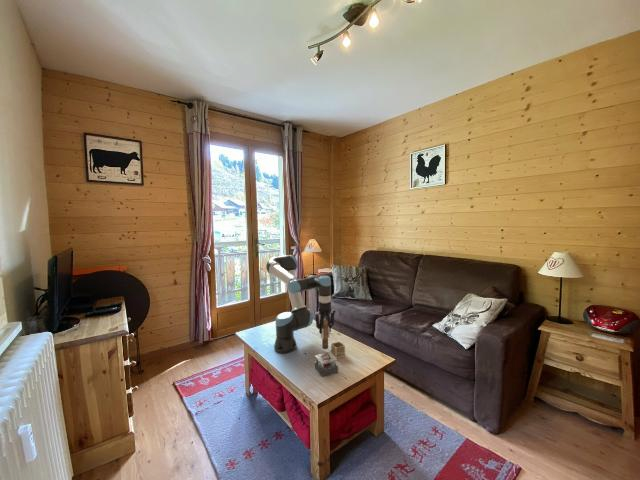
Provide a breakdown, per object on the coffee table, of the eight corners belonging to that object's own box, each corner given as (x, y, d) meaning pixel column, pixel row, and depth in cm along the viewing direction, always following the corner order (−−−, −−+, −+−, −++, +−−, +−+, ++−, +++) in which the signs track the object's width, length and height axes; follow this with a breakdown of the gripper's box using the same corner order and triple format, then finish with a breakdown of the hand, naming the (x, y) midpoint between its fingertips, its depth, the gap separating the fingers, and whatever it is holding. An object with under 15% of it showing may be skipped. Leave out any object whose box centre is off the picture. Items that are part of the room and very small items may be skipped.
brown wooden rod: (321, 346, 171) (321, 319, 168) (326, 345, 172) (326, 318, 170) (323, 349, 167) (323, 321, 165) (329, 348, 169) (328, 320, 166)
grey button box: (315, 367, 160) (314, 355, 160) (330, 363, 164) (330, 351, 164) (321, 377, 151) (321, 364, 150) (337, 372, 155) (337, 359, 154)
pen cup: (331, 353, 176) (331, 343, 175) (340, 351, 179) (340, 341, 178) (335, 358, 170) (335, 348, 169) (345, 356, 173) (345, 345, 172)
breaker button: (322, 362, 158) (322, 359, 158) (327, 361, 159) (327, 358, 159) (324, 365, 155) (324, 361, 155) (329, 363, 157) (329, 360, 156)
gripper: (314, 305, 159) (315, 343, 162) (339, 301, 166) (339, 337, 169) (310, 301, 166) (310, 337, 169) (334, 297, 172) (334, 332, 175)
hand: (325, 337), depth 169 cm, fingers closed on brown wooden rod, 3 cm apart
